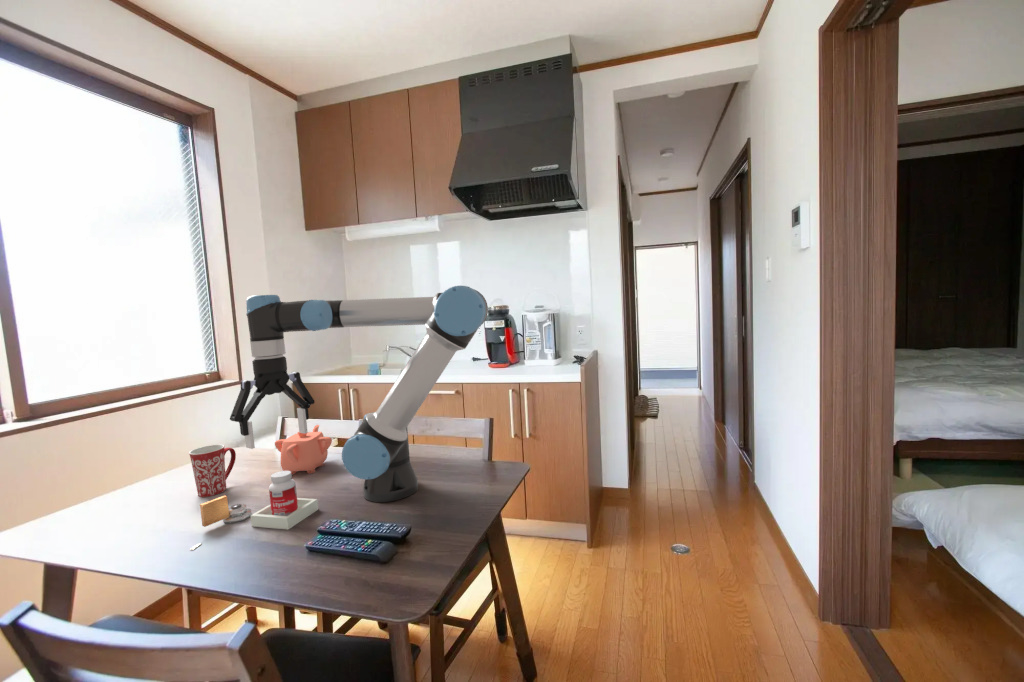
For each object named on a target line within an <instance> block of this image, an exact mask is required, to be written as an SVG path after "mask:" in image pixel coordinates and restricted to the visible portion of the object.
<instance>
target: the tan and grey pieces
mask: <svg viewBox="0 0 1024 682" xmlns="http://www.w3.org/2000/svg"><path fill="white" fill-rule="evenodd" d="M199 509H200V518H201V525H202V527H205V528H206V527H208V526H211V525H213V524H216V523H218V522H220V521H223V519H226V518H235V517H239V516H242V515H244V514H246V513H247V509H248V508H247V504H246V503H237V504H234V505H230V506H229V502H228V496H227V495H221V496H219V497H216V498H214V499H211V500H208V501H206V502H203V503H200V504H199Z"/></svg>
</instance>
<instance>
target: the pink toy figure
mask: <svg viewBox="0 0 1024 682" xmlns="http://www.w3.org/2000/svg"><path fill="white" fill-rule="evenodd" d="M319 427H320V424H316V425H315V426H314V427H313V429H312V431H307V432H308V433H305V434H304V433H299V431H297V433H294V434H293V435H291V436H289V437H287V438H283V439H282V438H281V439H277V440H276V441H275V442H274V446H275V448H276V449H277V451H278V452H279V453H280V468H281V469H282V471H291V475H296V474H297V472H301V471H302V472H305V471H306V474H309V475H311V474H314V473H316V471H317V470H316V468H318V467H323V466H324V465H325V464H324V462H326V460H327V458H328V454H329V452H328V451H329V448H330V447H331V445H332V443H333V439H332V437H329V436H324V433H323V432H322V431H319Z"/></svg>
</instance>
